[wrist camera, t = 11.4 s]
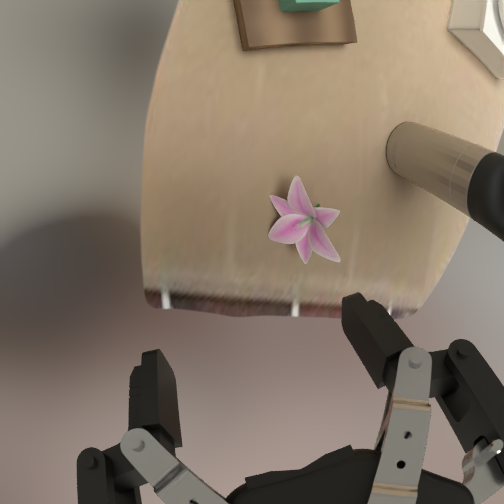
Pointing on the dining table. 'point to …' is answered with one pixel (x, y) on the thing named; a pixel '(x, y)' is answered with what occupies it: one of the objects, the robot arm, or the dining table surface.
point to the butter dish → (480, 30)
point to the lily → (303, 224)
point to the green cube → (305, 5)
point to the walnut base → (293, 25)
